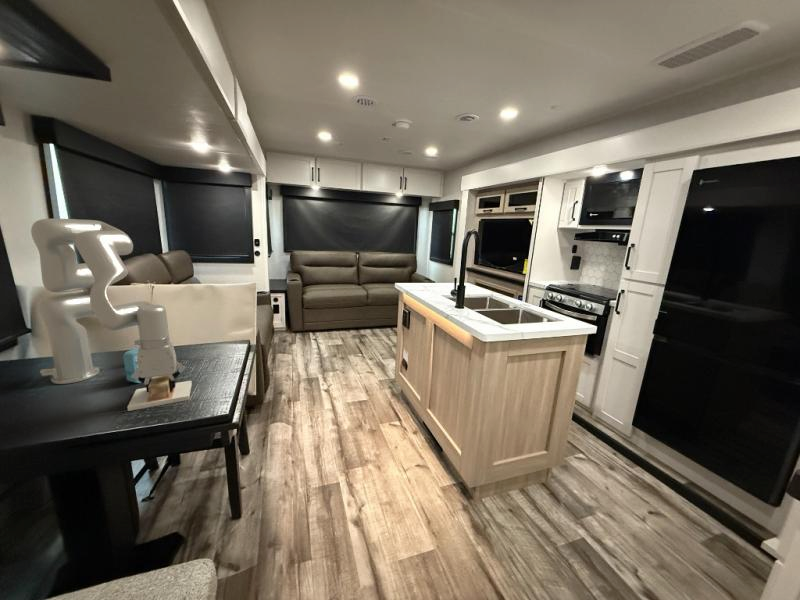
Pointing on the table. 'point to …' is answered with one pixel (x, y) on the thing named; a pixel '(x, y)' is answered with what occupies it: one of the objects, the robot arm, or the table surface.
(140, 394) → the plate
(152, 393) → the tan cardboard box
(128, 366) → the data package
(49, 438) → the table surface
